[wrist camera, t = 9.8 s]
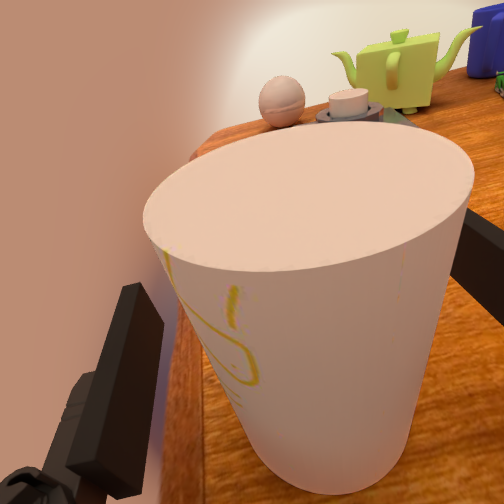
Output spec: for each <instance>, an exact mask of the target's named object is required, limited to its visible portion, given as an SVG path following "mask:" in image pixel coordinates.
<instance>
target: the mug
mask: <svg viewBox="0 0 504 504" xmlns="http://www.w3.org/2000/svg"><path fill="white" fill-rule="evenodd" d="M478 26H483V27H481V28H480V29H478V30H476V31H475V32H473V33H472V34H471V36H470V45H469V53H468V62H467V74H468V76H470V77H473V78H489V77H496V76H499V75H504V73H501V74H498V75H496V73H497V71H498V72H504V3H501V4H497V5H492V6H488V7H485V8H480V9H477V10H475V11H474V12H473V19H472V27H471V28H473V27H478Z"/></svg>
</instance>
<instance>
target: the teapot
mask: <svg viewBox="0 0 504 504" xmlns="http://www.w3.org/2000/svg"><path fill="white" fill-rule="evenodd" d="M481 27H483V26H478V27H473V28H469V29H465V30H463V31H461V32H460V33H459V34H458V35H457V36H456V37H455V38H454V40H453V42H452V44H451V46H450V48H449V50H448V52H447V54H446V55H445V56H444V57H443V58H442V59H441V60H439V61H438V62H436V58H437V51H438V43H439V36H440V33H433V34H427V35H422V36H417V37H411V38H407V35H408V33H409V29H402V30H397V31H394V32H392V33H390V36H391V39H392V41H389V42H383V43H378V44H373V45H368V46H367V47H366V48H364V49H363V50H362V51H361V52H360V53H358V54H357V56H356V66H357V67H356V69H355V67H354V65H353V62H352V59H351V57H350V55H349V54H348V53H347V52H344V51H343V52H336V53H331V54H332V55H335V56H337V57H338V58H339V59H340V60H341V61H342V63H343V65H344V67H345V71H346V75H347V78H348V81H349V83H350V85H351V86H352V87H353V88H354V89H357V88H363V89H367V90H368V101H369V102H378V103H380V104H381V105H383V106H384V108H388V107H391V108H393V109H398V108H402V113H404V114H412V113H416V112H417V108H416V107H421V106H430V100H431V93H432V87H433V83H434V82H436V81H438V80H440V79H441V78H442V77H444V76H445V75H446V74H447V72H448V71H449V70H450V68H451V67H452V65H453V63H454V61H455V58H456V56H457V54H458V52H459V49H460V48H461V46H462V44H463V43H464V41H465V40H466V39H467V38H468V37H469V36H470V35H471V34H472V33H473V32H475V31H476V30H478V29H480V28H481Z"/></svg>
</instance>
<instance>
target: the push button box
mask: <svg viewBox="0 0 504 504" xmlns="http://www.w3.org/2000/svg"><path fill="white" fill-rule="evenodd" d="M348 121H366V122H383V123H393V124H400V125H406V126H411V127H416V128H419V127H418V126H416V125H415V124H414V123H412V122H411V121H409V120H408V119H407V118H405V117H404V116H402V115H401V114H400V113H398V112H397V111H395V110H394V109H393V108H391V107H388V108H384V106H383V105H381V104H380V103H378V102H369V101H368V112H365V113H363V114H360V115H356V116H351V117H341V118H334V117H330V115H329V108H327V109H324V110H322V111H320V112H319V113H318V114H316V122H311V123H306V124H300V125H295V126H293V127H296V126H302V125H310V124H318V123H329V122H348ZM420 129H421V128H420Z"/></svg>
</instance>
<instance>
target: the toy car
mask: <svg viewBox="0 0 504 504" xmlns="http://www.w3.org/2000/svg"><path fill="white" fill-rule="evenodd" d="M501 73H504V72H498V71H497V73H496V75H498V74H501ZM495 91H496V92H498V93H500V95H501V96H502V97H504V75H499V76H497V78H496V84H495Z"/></svg>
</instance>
